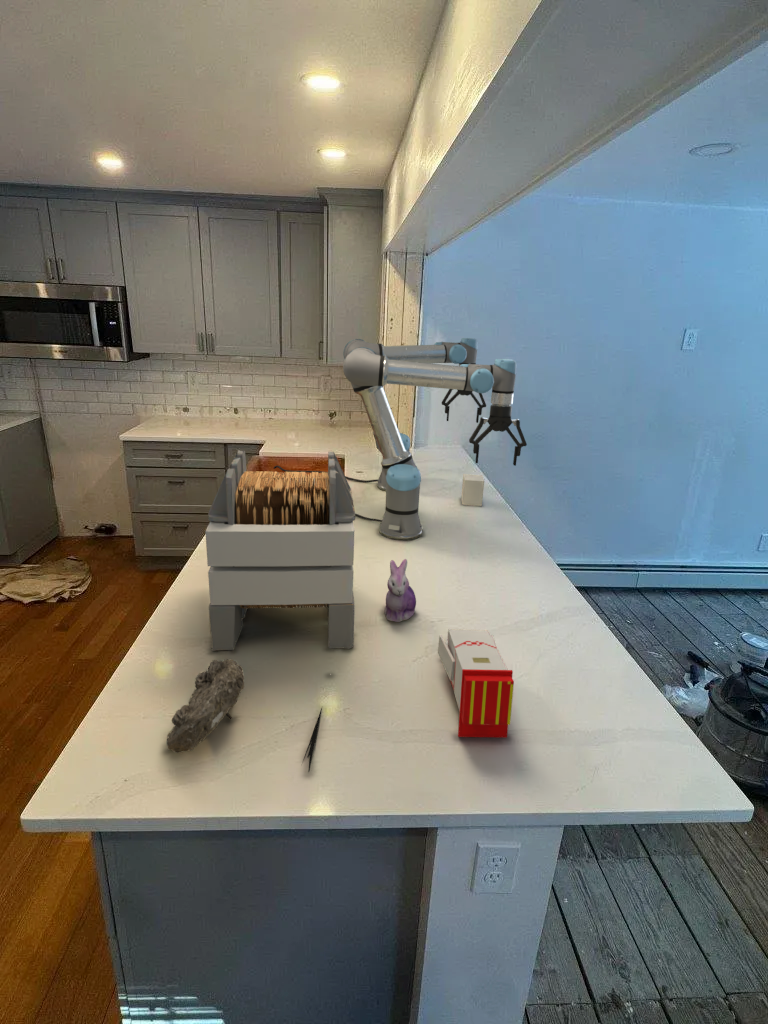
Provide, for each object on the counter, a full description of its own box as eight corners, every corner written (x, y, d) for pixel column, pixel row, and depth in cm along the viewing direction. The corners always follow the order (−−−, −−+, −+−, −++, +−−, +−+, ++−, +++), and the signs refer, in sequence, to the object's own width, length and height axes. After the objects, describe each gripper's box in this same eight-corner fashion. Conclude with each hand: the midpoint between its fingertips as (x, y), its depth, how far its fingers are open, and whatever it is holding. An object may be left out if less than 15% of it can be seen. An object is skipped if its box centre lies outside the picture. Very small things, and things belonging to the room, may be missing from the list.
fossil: (192, 660, 117) (244, 628, 112) (224, 691, 120) (276, 661, 115) (142, 746, 98) (202, 712, 93) (182, 779, 101) (242, 748, 96)
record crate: (231, 583, 159) (223, 441, 145) (347, 582, 163) (350, 443, 149) (209, 653, 127) (196, 479, 114) (354, 649, 131) (359, 481, 117)
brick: (481, 506, 232) (484, 481, 229) (462, 505, 233) (464, 480, 229) (479, 499, 241) (482, 475, 237) (461, 498, 241) (463, 474, 237)
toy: (488, 613, 130) (523, 677, 101) (484, 667, 133) (517, 744, 104) (435, 612, 130) (455, 676, 101) (432, 666, 133) (451, 743, 103)
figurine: (392, 627, 141) (395, 572, 136) (374, 608, 149) (376, 556, 144) (425, 619, 145) (429, 566, 140) (405, 601, 154) (408, 550, 149)
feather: (331, 679, 122) (336, 673, 122) (307, 777, 96) (313, 769, 95) (324, 675, 122) (329, 669, 121) (298, 772, 95) (304, 764, 95)
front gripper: (536, 404, 201) (529, 462, 208) (465, 401, 203) (460, 458, 211) (539, 408, 194) (531, 468, 201) (465, 404, 196) (461, 463, 204)
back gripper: (493, 374, 257) (488, 421, 264) (438, 371, 258) (435, 418, 265) (495, 376, 249) (490, 424, 257) (438, 373, 251) (435, 421, 258)
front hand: (495, 463), depth 206 cm, fingers open, 13 cm apart
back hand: (462, 421), depth 261 cm, fingers open, 13 cm apart
